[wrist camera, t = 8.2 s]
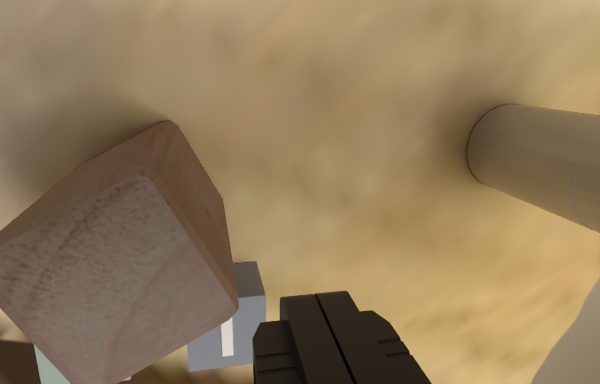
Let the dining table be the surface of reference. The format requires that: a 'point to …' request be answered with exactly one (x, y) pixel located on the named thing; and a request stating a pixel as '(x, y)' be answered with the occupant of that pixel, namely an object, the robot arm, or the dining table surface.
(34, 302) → the wooden block
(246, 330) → the slate numbered cube
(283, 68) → the dining table surface
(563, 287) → the dining table surface
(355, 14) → the dining table surface
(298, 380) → the robot arm
